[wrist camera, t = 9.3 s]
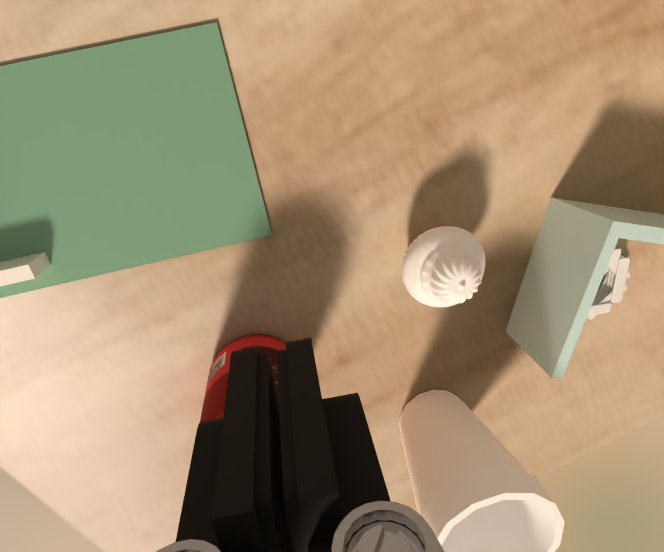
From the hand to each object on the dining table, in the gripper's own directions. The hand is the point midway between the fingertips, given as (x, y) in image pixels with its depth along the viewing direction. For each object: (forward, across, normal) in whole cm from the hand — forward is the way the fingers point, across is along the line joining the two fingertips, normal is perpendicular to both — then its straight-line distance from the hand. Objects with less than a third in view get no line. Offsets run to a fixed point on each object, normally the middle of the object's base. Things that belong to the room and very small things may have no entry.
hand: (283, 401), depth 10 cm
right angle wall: (+26, -25, +12) cm, 38 cm away
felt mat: (+25, +14, -2) cm, 28 cm away
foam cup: (+25, -11, +24) cm, 36 cm away
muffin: (+25, -11, +8) cm, 28 cm away
